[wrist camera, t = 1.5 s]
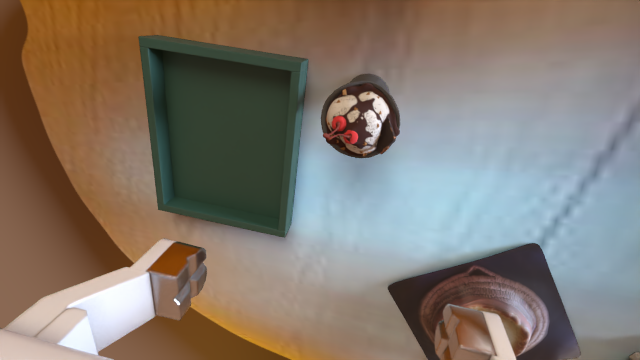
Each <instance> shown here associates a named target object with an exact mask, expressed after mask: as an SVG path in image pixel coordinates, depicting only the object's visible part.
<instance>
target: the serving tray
mask: <svg viewBox="0 0 640 360" xmlns="http://www.w3.org/2000/svg"><path fill="white" fill-rule="evenodd" d="M139 45H140V53H141V62H142V70H143V79H144V88H145V97H146V106H147V114H148V123H149V132H150V141H151V150H152V158H153V167H154V176H155V185H156V194H157V203H158V210H162V211H167V212H171V213H176V214H180V215H185V216H189V217H194V218H198V219H203V220H207V221H212V222H216V223H221V224H225V225H230V226H234V227H239V228H243V229H248V230H252V231H257V232H261V233H266V234H270V235H275V236H279V237H284V238H285V236H286V234H287V232H288V230H289V228H290V225H291V221H292V211H293V202H294V192H295V183H296V173H297V163H298V154H299V144H300V135H301V125H302V115H303V106H304V96H305V87H306V77H307V68H308V59H304V58H298V57H291V56H285V55H279V54H272V53H266V52H260V51H254V50H247V49H241V48H235V47H229V46H222V45H216V44H210V43H204V42H197V41H191V40H185V39H178V38H172V37H166V36H160V35H154V36H153V35H152V36H139Z"/></svg>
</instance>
